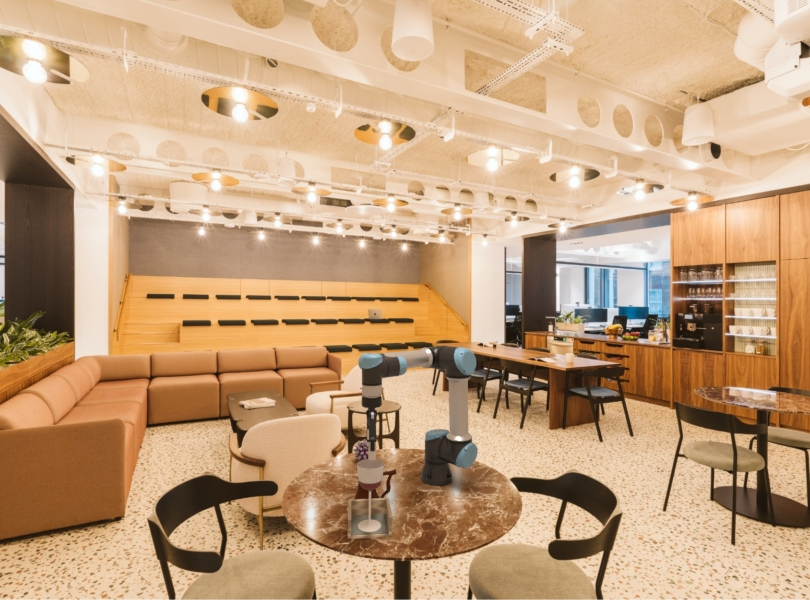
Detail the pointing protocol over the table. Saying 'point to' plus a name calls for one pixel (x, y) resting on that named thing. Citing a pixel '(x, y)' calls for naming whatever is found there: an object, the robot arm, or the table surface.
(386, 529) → the square tray
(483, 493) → the table surface
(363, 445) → the flower
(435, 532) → the table surface
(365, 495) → the brown pitcher
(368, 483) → the wineglass
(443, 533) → the table surface
